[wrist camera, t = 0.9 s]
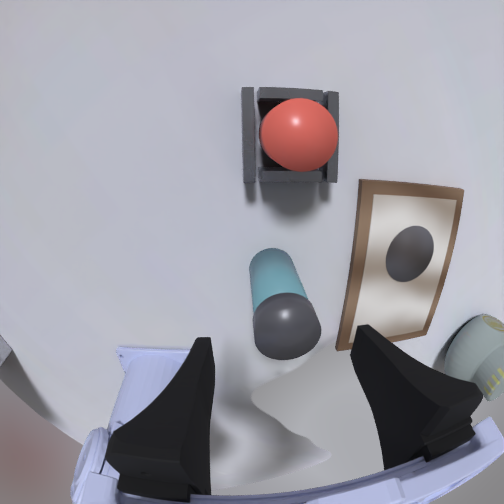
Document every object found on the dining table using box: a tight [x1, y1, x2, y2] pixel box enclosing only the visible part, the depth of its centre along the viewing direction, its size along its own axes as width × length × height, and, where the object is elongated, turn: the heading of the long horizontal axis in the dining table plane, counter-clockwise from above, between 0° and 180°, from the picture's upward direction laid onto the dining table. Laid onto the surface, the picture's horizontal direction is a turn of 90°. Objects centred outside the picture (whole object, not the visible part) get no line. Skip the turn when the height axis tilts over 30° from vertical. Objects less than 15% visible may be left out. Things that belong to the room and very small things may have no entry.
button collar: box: [241, 87, 339, 183], centre depth 17 cm, size 6×6×2 cm
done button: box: [259, 98, 338, 172], centre depth 15 cm, size 4×4×3 cm
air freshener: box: [444, 314, 504, 401], centre depth 23 cm, size 11×8×10 cm
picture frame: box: [335, 179, 464, 351], centre depth 22 cm, size 16×11×1 cm
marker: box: [249, 248, 321, 360], centre depth 18 cm, size 4×4×8 cm
